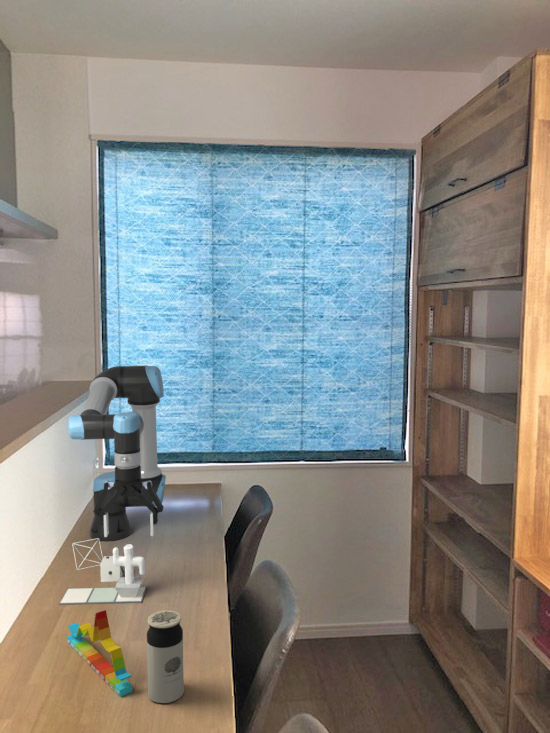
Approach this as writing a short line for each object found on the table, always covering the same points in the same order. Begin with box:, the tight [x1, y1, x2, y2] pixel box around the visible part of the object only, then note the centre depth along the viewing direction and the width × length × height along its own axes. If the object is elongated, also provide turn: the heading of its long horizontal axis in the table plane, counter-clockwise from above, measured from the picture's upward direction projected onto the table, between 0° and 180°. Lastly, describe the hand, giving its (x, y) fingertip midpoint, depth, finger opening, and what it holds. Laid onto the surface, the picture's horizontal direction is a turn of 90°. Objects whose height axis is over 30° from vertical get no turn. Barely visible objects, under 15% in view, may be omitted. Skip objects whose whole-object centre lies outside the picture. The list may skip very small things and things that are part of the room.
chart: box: [66, 609, 133, 698], centre depth 158 cm, size 30×3×15 cm, turn 39°
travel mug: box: [146, 609, 185, 704], centre depth 147 cm, size 8×8×18 cm
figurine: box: [112, 543, 146, 597], centre depth 196 cm, size 7×9×15 cm
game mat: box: [58, 586, 147, 606], centre depth 196 cm, size 10×24×1 cm, turn 93°
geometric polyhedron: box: [71, 538, 104, 571], centre depth 219 cm, size 10×9×8 cm
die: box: [99, 555, 125, 583], centre depth 208 cm, size 6×6×6 cm
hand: (129, 534), depth 195 cm, fingers open, 13 cm apart
